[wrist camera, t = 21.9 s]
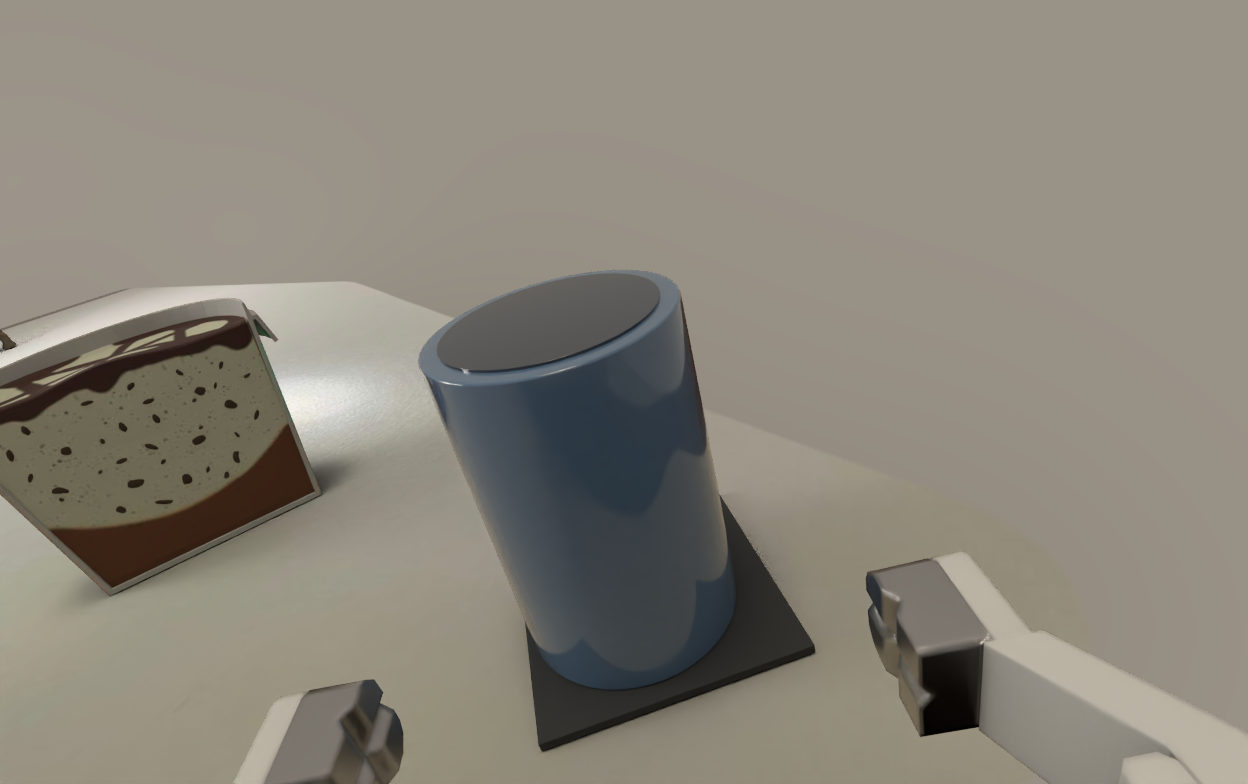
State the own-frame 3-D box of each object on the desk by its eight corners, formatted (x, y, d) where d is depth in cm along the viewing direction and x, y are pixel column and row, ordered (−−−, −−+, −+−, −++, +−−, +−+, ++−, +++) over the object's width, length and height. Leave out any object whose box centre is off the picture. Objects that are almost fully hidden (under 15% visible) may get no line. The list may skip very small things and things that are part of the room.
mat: (815, 652, 18) (814, 645, 18) (541, 751, 17) (538, 744, 17) (716, 494, 25) (715, 488, 25) (519, 559, 24) (517, 553, 24)
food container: (331, 438, 37) (247, 278, 33) (351, 480, 32) (256, 298, 28) (89, 546, 32) (-49, 375, 28) (70, 615, 27) (-101, 420, 23)
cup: (685, 723, 16) (590, 389, 12) (490, 653, 20) (358, 374, 15) (765, 545, 21) (720, 261, 17) (597, 514, 25) (523, 272, 20)
